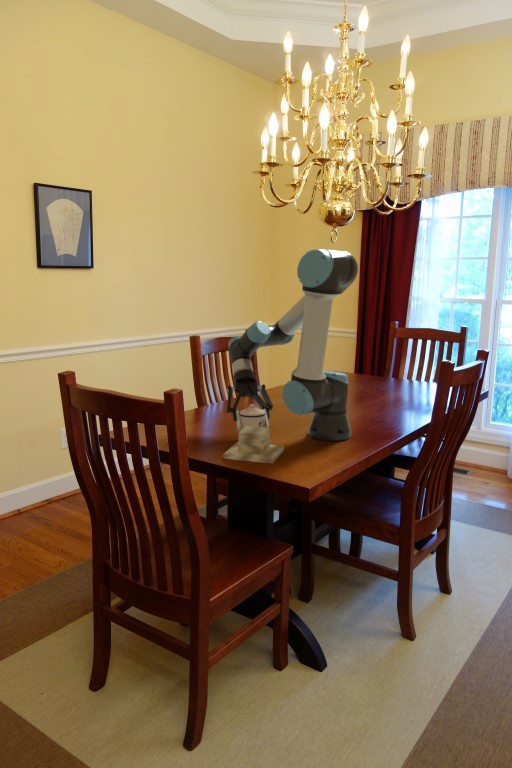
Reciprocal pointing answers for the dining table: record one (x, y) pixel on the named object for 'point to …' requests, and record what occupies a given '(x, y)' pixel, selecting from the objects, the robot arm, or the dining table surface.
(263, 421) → the teacup with lid
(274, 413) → the dining table surface
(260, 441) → the stone pedestal
